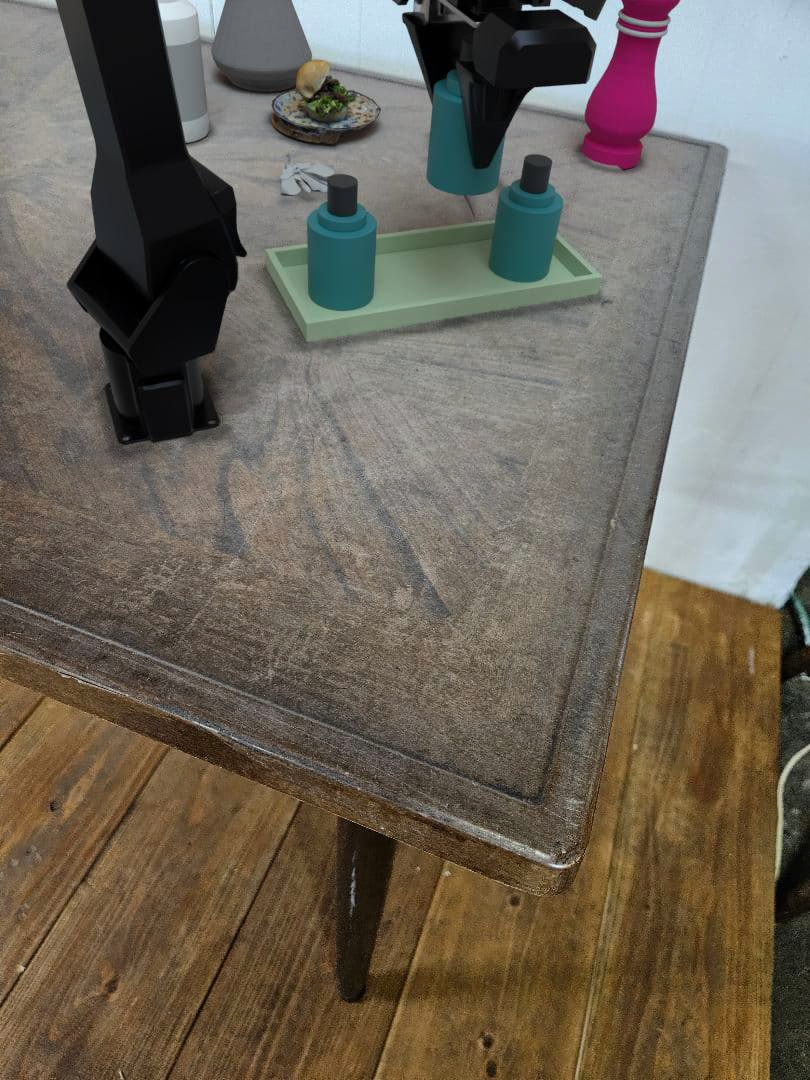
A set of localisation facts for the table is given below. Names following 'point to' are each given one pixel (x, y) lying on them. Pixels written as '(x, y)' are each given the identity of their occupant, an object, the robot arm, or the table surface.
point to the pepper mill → (627, 86)
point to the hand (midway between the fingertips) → (464, 151)
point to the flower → (304, 176)
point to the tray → (428, 281)
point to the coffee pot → (260, 44)
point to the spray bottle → (186, 65)
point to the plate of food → (321, 106)
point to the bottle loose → (456, 141)
